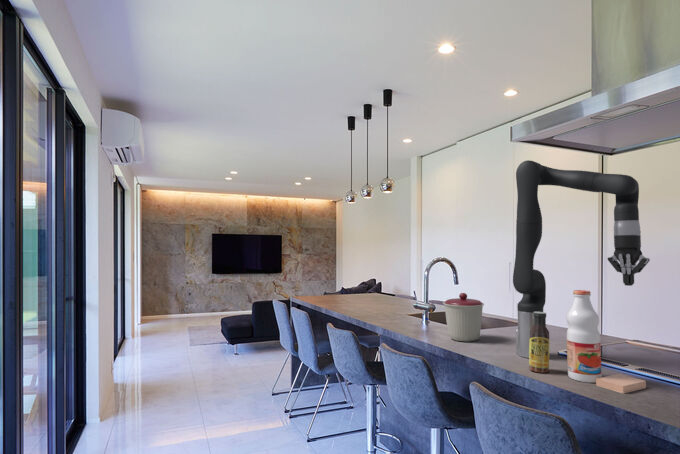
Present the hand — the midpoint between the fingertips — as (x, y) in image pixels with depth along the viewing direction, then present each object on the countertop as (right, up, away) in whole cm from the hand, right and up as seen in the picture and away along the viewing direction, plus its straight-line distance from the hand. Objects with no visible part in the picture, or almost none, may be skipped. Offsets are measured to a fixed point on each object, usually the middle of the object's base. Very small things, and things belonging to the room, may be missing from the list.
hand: (628, 285), depth 143 cm
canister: (-41, -32, +50) cm, 72 cm away
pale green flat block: (-8, -28, -13) cm, 32 cm away
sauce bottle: (-30, -30, +1) cm, 42 cm away
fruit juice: (-19, -29, -7) cm, 36 cm away
